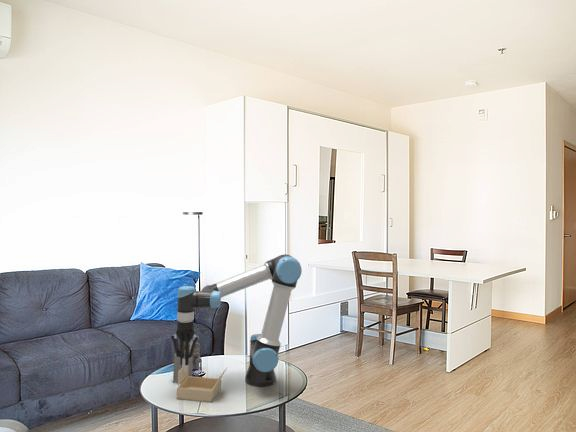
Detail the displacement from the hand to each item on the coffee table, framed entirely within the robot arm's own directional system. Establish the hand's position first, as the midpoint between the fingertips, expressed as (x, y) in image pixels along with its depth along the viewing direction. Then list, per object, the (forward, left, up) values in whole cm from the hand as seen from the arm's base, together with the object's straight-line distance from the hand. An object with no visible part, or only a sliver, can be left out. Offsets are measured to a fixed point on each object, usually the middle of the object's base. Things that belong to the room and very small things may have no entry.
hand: (184, 372), depth 217 cm
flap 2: (-17, 0, -1) cm, 17 cm away
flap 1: (0, 0, -1) cm, 1 cm away
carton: (-7, 0, -10) cm, 12 cm away
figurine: (+9, -31, -10) cm, 34 cm away
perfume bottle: (+6, -14, -10) cm, 18 cm away
